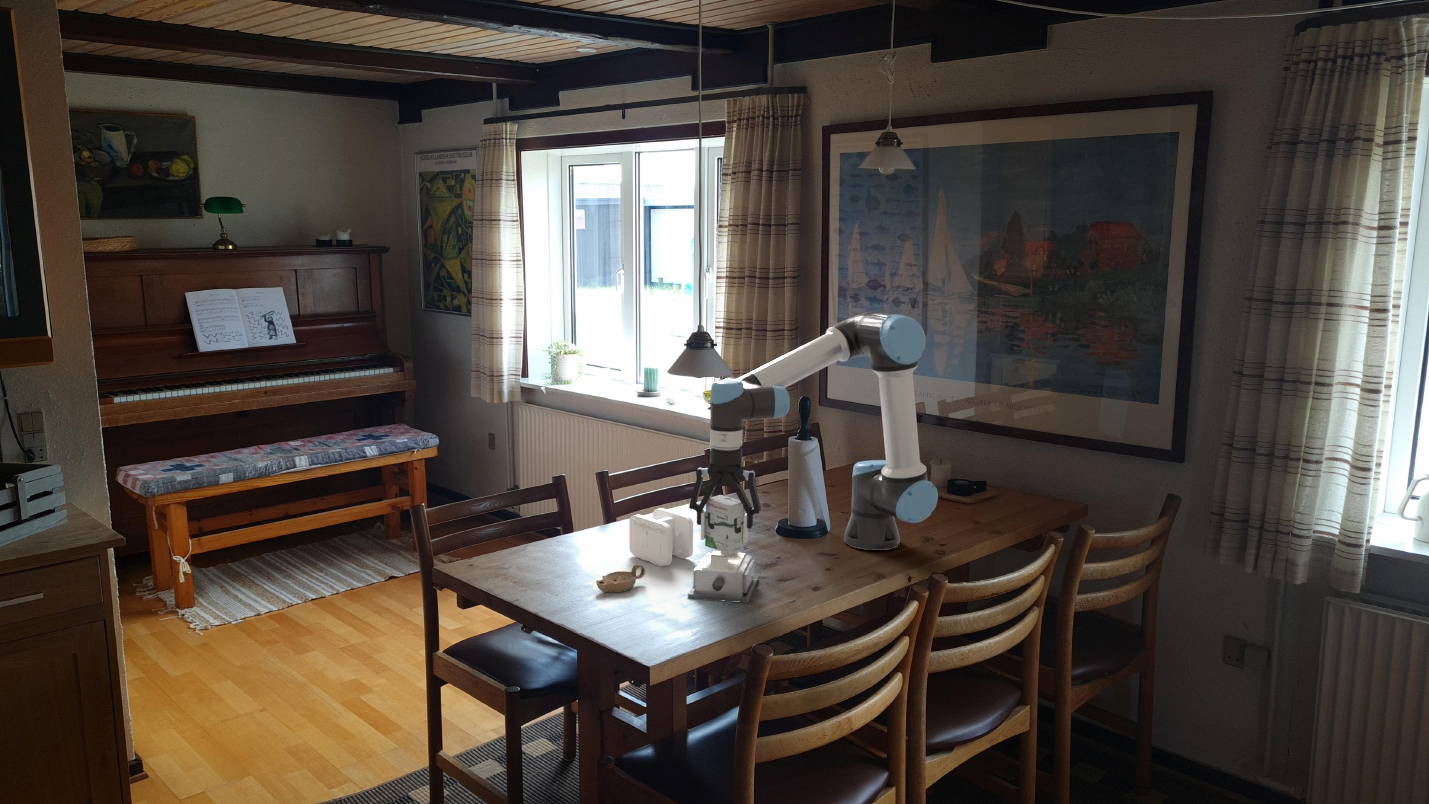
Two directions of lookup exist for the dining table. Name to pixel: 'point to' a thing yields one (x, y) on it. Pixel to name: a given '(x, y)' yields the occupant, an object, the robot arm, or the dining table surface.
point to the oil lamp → (620, 580)
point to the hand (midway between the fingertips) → (724, 539)
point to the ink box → (724, 524)
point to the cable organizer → (661, 536)
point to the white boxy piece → (724, 577)
